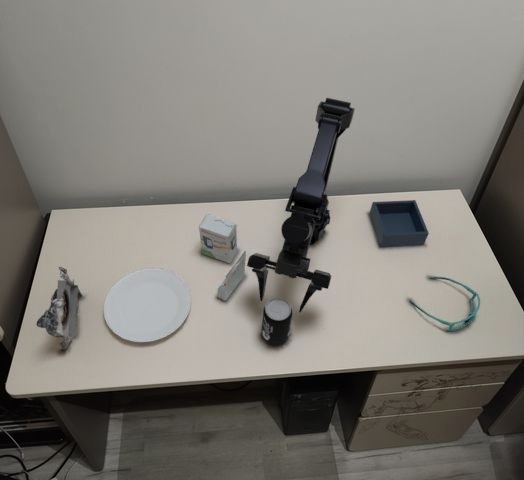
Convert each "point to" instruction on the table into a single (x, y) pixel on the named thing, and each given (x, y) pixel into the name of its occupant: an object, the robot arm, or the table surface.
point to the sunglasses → (466, 320)
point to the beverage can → (276, 321)
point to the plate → (147, 305)
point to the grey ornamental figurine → (62, 311)
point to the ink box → (218, 238)
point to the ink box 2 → (232, 278)
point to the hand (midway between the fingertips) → (280, 306)
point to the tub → (398, 223)
